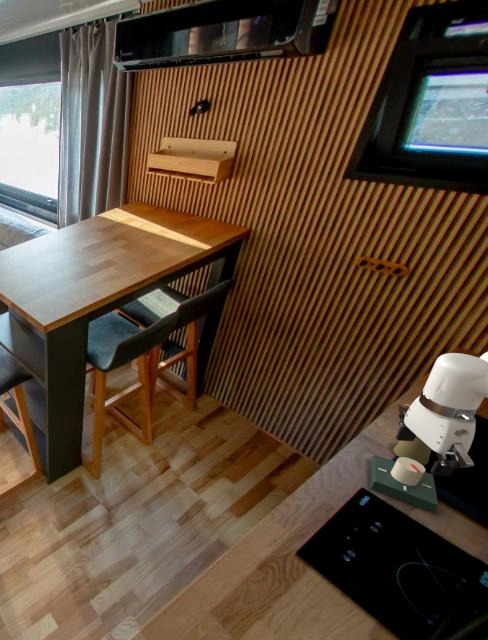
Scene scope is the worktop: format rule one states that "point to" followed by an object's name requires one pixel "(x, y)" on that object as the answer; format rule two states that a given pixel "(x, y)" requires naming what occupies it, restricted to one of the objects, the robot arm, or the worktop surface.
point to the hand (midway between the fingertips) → (421, 456)
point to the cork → (414, 450)
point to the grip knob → (407, 471)
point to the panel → (402, 485)
